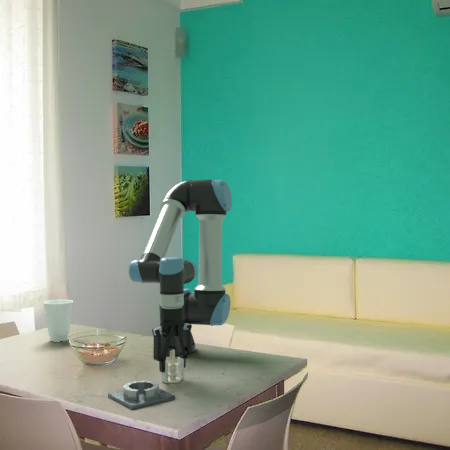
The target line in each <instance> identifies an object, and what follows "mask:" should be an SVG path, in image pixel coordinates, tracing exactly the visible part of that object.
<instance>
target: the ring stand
mask: <svg viewBox="0 0 450 450" xmlns="http://www.w3.org/2000/svg"><path fill="white" fill-rule="evenodd" d="M159 385H160V384H159V383H158V382H155V381H153V380H134V381H130V382H127V383H125V384H123V389H121V390H117V391H112V392H109V393H107V397H108V398H110V399H111V400H113V401H114V402H116V403H119V404H120V405H122V406H124V407H126V408H128V409H130V410H136V409H139V408H140V409H141V408H144V407H148V406H152V405H157V404H160V403H163V402H168V401H172V400H175V399H176V395H175V394H173V393H171V392H168V391H166V390H164V389H161V388H160V387H159Z"/></svg>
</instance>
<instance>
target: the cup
mask: <svg viewBox="0 0 450 450" xmlns="http://www.w3.org/2000/svg"><path fill="white" fill-rule="evenodd" d="M73 303H74V300H72V299H50V300H45V301H43V308H44V313H45V320H46V327H47V332H48V336H49V341H50V342H51V341H53V342H52V343H61V342H60V341H63V342H67V341H68V339H69V334H70V327H71V320H72V312H73ZM66 340H67V341H66Z"/></svg>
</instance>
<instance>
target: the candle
mask: <svg viewBox="0 0 450 450" xmlns="http://www.w3.org/2000/svg"><path fill="white" fill-rule="evenodd" d="M177 365H179V364H178V363H177V362H176V355H175V350H173V348H172V350H171V351H170V355H169V362H168V383H167V384H179V383H181V382H182V379H181V378H178V377H177V375H178V373H177Z"/></svg>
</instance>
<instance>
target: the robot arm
mask: <svg viewBox="0 0 450 450" xmlns="http://www.w3.org/2000/svg"><path fill="white" fill-rule="evenodd" d="M232 205H233V199H232V192H231V189H230V186H229V184H228V182H227V181H225V180H223V179H198V180H197V179H196V180H195V179H194V180H192V179H189V180H184V181H181V182H179V183H177V184H175V186H173V187H172V188H171V189H170V190H169V191H168V192H167V194H165V196H164V197H163V199H162V201H161V203H160V212H159V215H158V217H157V220H156V222H155V224H154V227H153V230H152V231H151V234H150V236H149V238H148V241H147V244H146V245H145V248H144V249H143V250H144V251H143V253H142V255H141V257H140V259H133V260H132V261H131V262H130V264H129V265H128V276H129V278H130V280H131V282H133V283H141V284H145V283H146V284H147V283H148V284H151V283H152V284H159V304H158V307H159V326H158V327H156V328H152V329H151V333H152V335H153V352H152V353H153V355H152V356H153V357H152V358H153V360H154V361H157V362H158V364H159V365H158V366H159V368H158V369H159V372H160V374H161V376H160V377H161V382H163V383H165V384H169V383H168V378H169V376H168V373H169V366H168V363H169V362H168V361H167V356H170V351H171V350H172V348H173V350H175V356H178V357H176V363H178V364H179V365H177V366H176V372H177V373H178V375H177V376H176V377H178V378H181V381H183V380H184V379H185V368H186V365H187V362H186V361H187V360H186V359H188V357H189V356H191V355H192V353H195V351H196V342H195V339H194V337H193V336H194V335H193V334H192V331H191V330H192V327H193V325H197V326H198V325H200V326H210V327H213V326H222V325H225V323H226V322H227V320H228V318H229V314H230V310H231V303H232V301H231V296H230V295H229V294H228V293H226V288H225V287H224V286H223V283H222V274H223V273H222V265H223V263H222V262H223V260H222V259H223V257H222V256H223V220H224V219H225V218H227V212H229V211H231V209H232ZM187 212H195V215H194V216H195V217H196V218H197V219H198V220H199V221H198V222H199V226H198V227H199V228H198V231H199V232H198V241H199V242H198V267H197V265H196V263H195V262H194V261H192V260H188V259H184V258H182V257H178V256H171V257H170V256H169V257H167V256H166V255H167V253H168V250H169V248H170V245H171V242H172V240H173V238H174V235H175V233H176V229H177V228H178V225H179V222H180V220H181V219H182V218H183V217H184V216H185V214H186V213H187ZM197 275H198V284H197V285H196V287H194V288H193V289H194V293H192V292H191V289H190V288H185V285H186V284H189V283H191V282H193V281H194V280H195V279H196V278H197Z"/></svg>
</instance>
